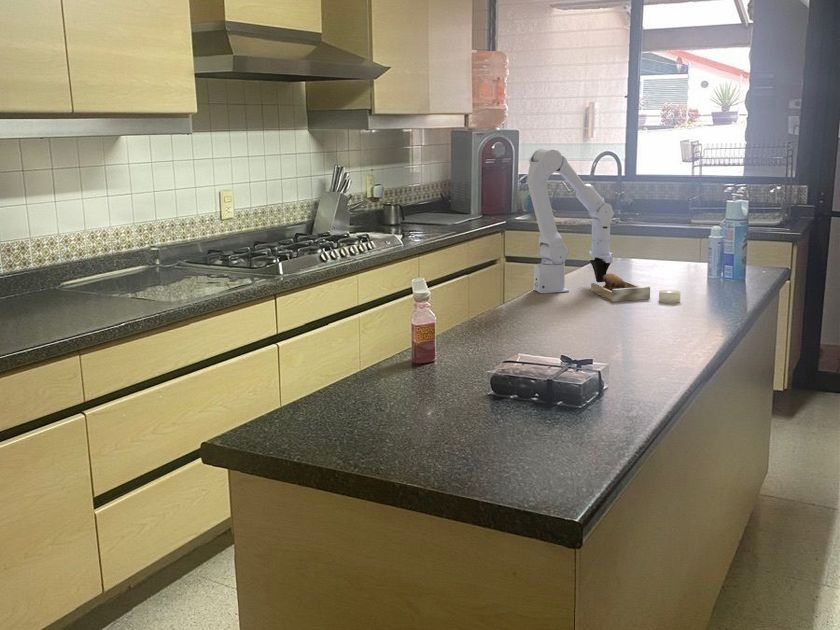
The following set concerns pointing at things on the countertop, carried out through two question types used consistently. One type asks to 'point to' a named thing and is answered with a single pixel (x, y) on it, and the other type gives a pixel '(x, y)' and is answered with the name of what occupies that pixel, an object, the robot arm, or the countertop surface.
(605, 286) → the mushroom
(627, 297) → the guide fence
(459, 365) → the countertop surface
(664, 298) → the soap bar
